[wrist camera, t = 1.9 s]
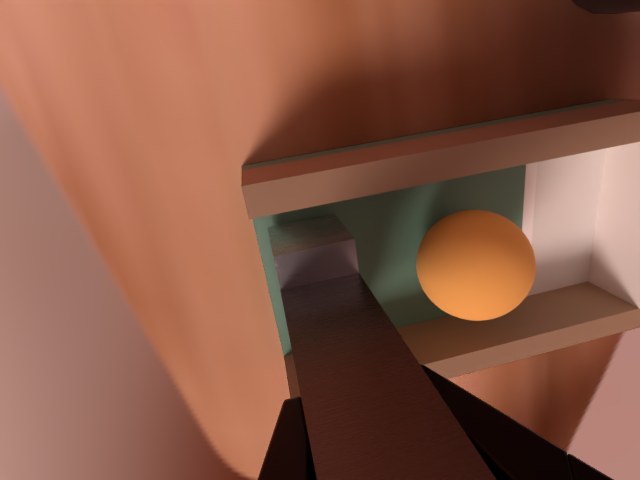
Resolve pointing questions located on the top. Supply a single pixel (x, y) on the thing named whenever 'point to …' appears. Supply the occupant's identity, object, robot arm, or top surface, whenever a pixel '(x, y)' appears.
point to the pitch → (488, 195)
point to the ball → (476, 265)
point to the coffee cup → (609, 6)
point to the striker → (360, 369)
